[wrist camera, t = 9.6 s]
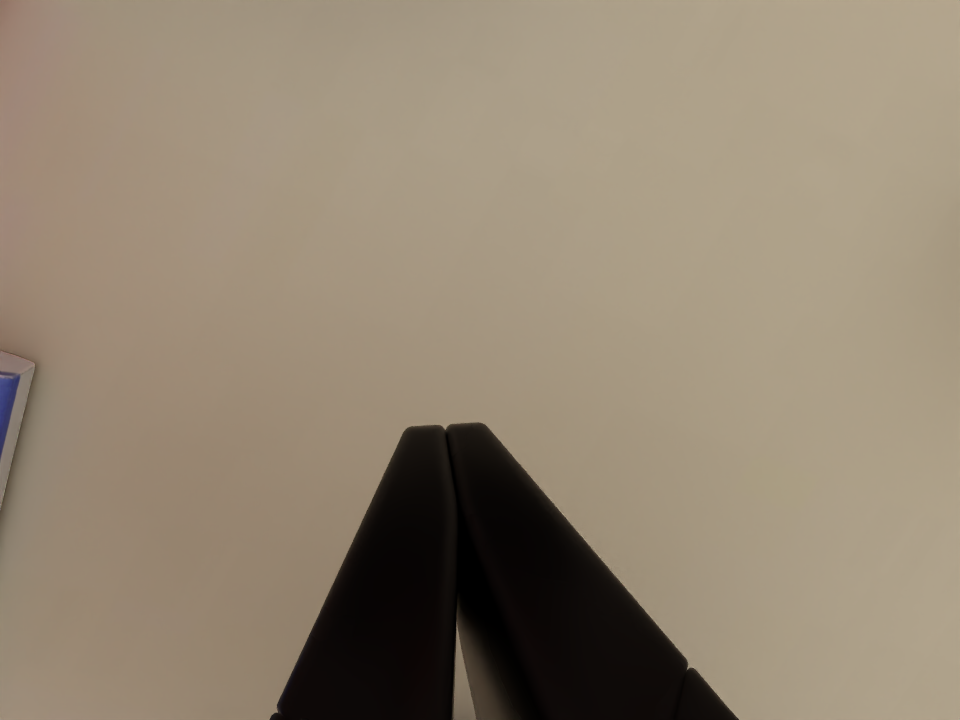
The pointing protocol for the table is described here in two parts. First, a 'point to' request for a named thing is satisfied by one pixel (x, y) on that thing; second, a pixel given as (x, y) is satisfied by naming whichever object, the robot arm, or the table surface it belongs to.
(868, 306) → the table surface
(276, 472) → the table surface
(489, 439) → the robot arm
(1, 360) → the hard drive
